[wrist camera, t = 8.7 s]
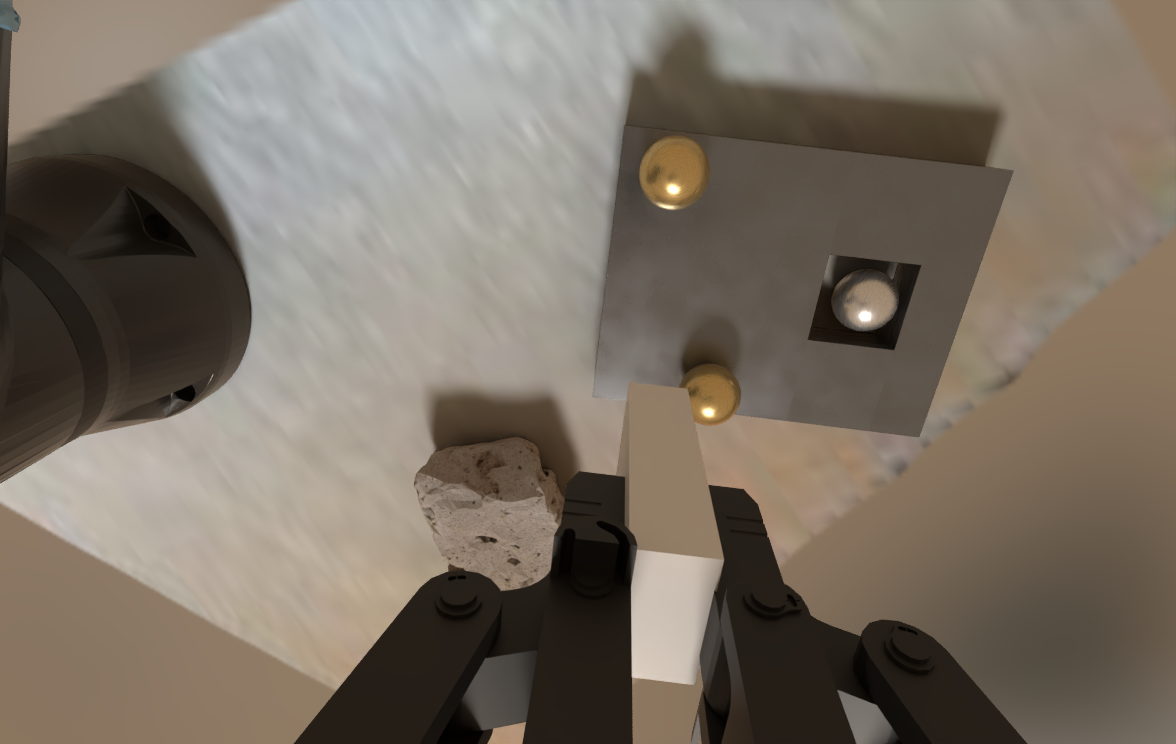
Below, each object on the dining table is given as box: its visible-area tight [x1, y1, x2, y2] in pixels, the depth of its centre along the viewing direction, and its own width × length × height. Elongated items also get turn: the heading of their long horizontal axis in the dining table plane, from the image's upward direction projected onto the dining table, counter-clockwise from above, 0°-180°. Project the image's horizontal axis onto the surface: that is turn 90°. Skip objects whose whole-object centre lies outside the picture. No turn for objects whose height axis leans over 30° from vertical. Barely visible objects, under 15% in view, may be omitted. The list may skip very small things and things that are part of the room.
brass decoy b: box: [679, 364, 741, 426], centre depth 32 cm, size 3×3×3 cm
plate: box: [592, 125, 1013, 437], centre depth 33 cm, size 18×14×2 cm
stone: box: [414, 437, 565, 591], centre depth 39 cm, size 13×6×10 cm
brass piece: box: [639, 135, 710, 210], centre depth 28 cm, size 3×3×3 cm
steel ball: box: [831, 269, 899, 331], centre depth 32 cm, size 3×3×3 cm
